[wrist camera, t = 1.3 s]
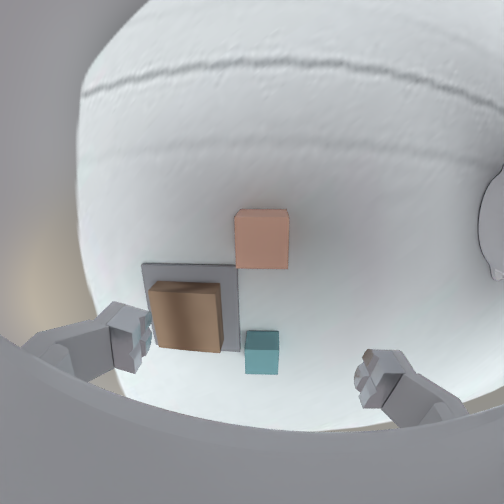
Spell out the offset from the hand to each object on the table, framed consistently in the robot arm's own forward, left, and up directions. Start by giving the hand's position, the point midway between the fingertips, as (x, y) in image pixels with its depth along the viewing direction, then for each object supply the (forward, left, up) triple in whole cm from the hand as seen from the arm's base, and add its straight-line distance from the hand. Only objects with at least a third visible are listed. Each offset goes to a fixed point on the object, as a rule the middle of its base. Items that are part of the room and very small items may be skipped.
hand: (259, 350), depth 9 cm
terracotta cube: (+1, +1, -22) cm, 22 cm away
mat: (+10, +11, -22) cm, 26 cm away
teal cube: (+1, +16, -22) cm, 27 cm away
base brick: (+10, +11, -21) cm, 26 cm away
